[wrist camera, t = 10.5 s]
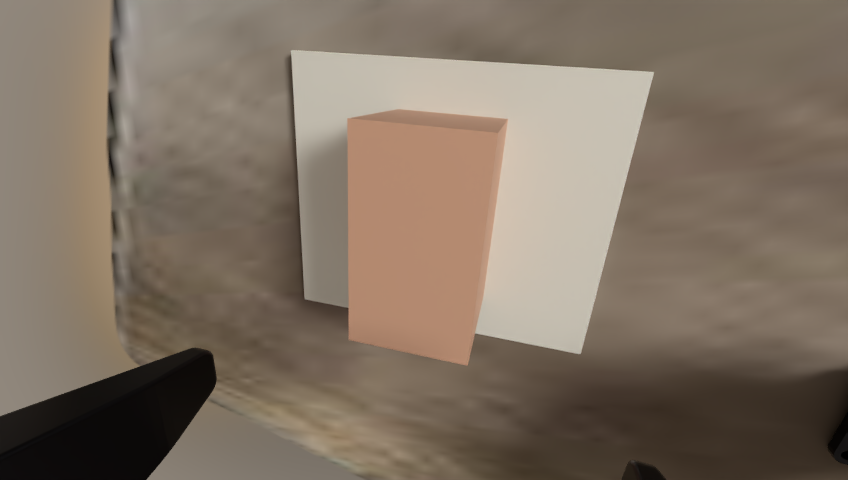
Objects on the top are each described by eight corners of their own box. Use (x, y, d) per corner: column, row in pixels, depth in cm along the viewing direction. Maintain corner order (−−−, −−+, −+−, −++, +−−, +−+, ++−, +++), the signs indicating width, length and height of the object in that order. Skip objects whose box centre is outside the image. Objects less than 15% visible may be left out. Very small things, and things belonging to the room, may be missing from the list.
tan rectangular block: (483, 297, 19) (467, 365, 14) (391, 280, 20) (348, 339, 15) (508, 118, 16) (498, 133, 11) (398, 109, 17) (347, 118, 12)
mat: (650, 72, 14) (654, 72, 14) (579, 347, 19) (580, 354, 18) (297, 50, 17) (291, 49, 17) (309, 294, 22) (304, 299, 21)
